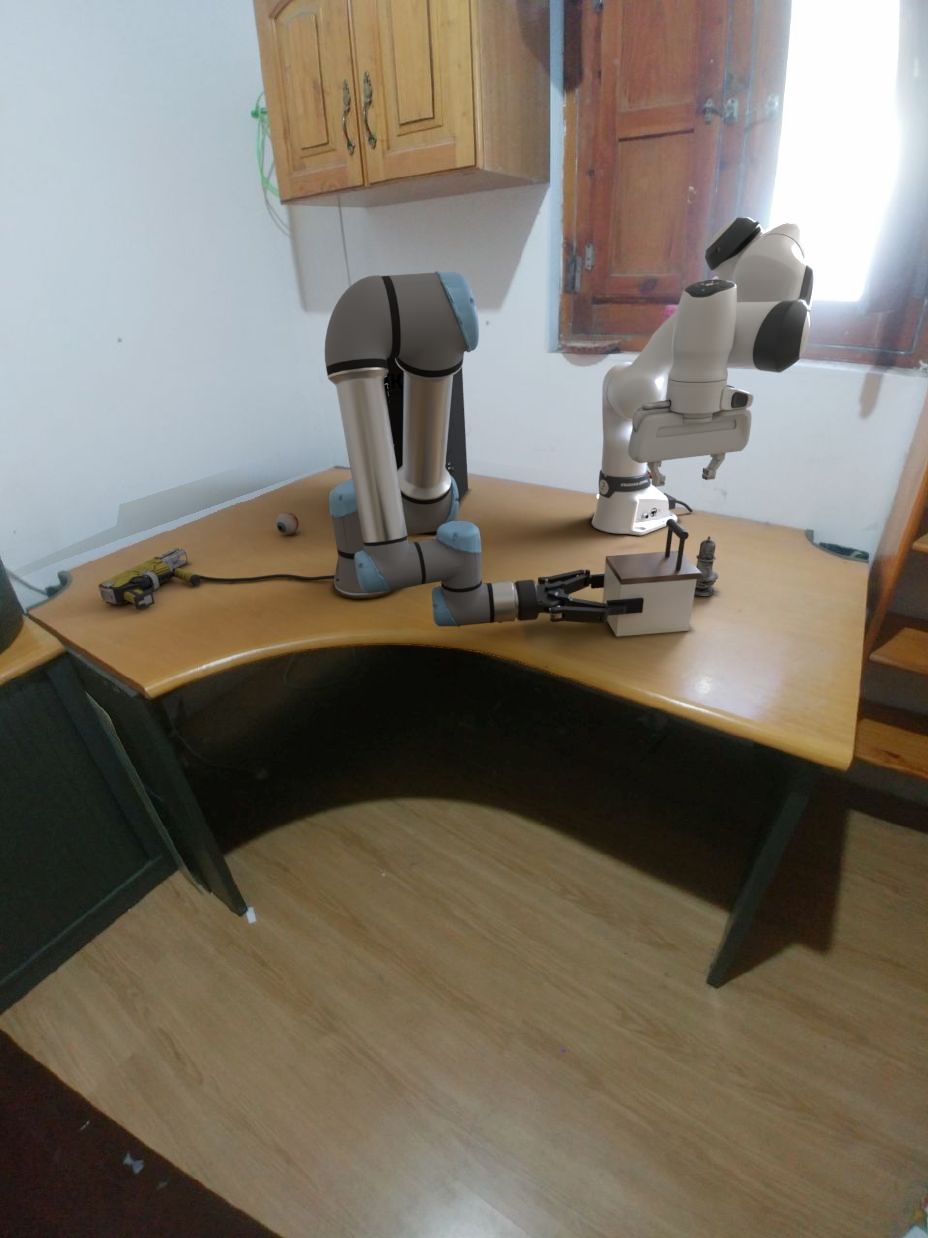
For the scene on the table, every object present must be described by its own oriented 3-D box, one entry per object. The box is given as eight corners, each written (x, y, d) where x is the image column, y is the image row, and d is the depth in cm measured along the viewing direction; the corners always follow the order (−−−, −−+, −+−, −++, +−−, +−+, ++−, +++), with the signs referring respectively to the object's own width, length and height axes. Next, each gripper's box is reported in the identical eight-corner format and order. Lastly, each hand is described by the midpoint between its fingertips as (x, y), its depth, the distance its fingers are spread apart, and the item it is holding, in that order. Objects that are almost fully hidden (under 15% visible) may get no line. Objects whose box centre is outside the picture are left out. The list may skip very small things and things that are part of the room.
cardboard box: (436, 534, 159) (422, 349, 137) (364, 531, 164) (339, 351, 141) (468, 489, 191) (460, 332, 168) (407, 487, 195) (391, 335, 173)
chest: (668, 605, 121) (675, 556, 115) (688, 630, 112) (696, 579, 107) (601, 610, 120) (605, 561, 115) (616, 636, 112) (620, 585, 106)
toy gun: (224, 556, 146) (173, 545, 150) (148, 597, 126) (92, 584, 130) (226, 573, 148) (177, 563, 152) (152, 617, 128) (97, 603, 132)
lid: (679, 555, 115) (685, 513, 111) (700, 578, 107) (708, 534, 103) (605, 561, 115) (608, 519, 111) (620, 585, 106) (625, 540, 102)
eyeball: (273, 537, 164) (268, 516, 161) (287, 528, 169) (282, 508, 166) (291, 539, 161) (286, 518, 158) (305, 530, 166) (301, 510, 163)
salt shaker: (717, 597, 122) (727, 542, 116) (687, 595, 123) (695, 541, 117) (713, 584, 127) (722, 531, 121) (684, 583, 128) (692, 530, 122)
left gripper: (507, 591, 124) (614, 582, 125) (525, 650, 104) (651, 640, 105) (506, 557, 120) (616, 549, 121) (524, 613, 100) (656, 602, 101)
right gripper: (644, 407, 91) (635, 495, 98) (763, 394, 95) (747, 480, 102) (625, 400, 97) (618, 484, 104) (738, 388, 100) (725, 470, 107)
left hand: (633, 591), depth 113 cm, fingers closed on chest, 10 cm apart
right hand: (683, 482), depth 103 cm, fingers open, 8 cm apart
